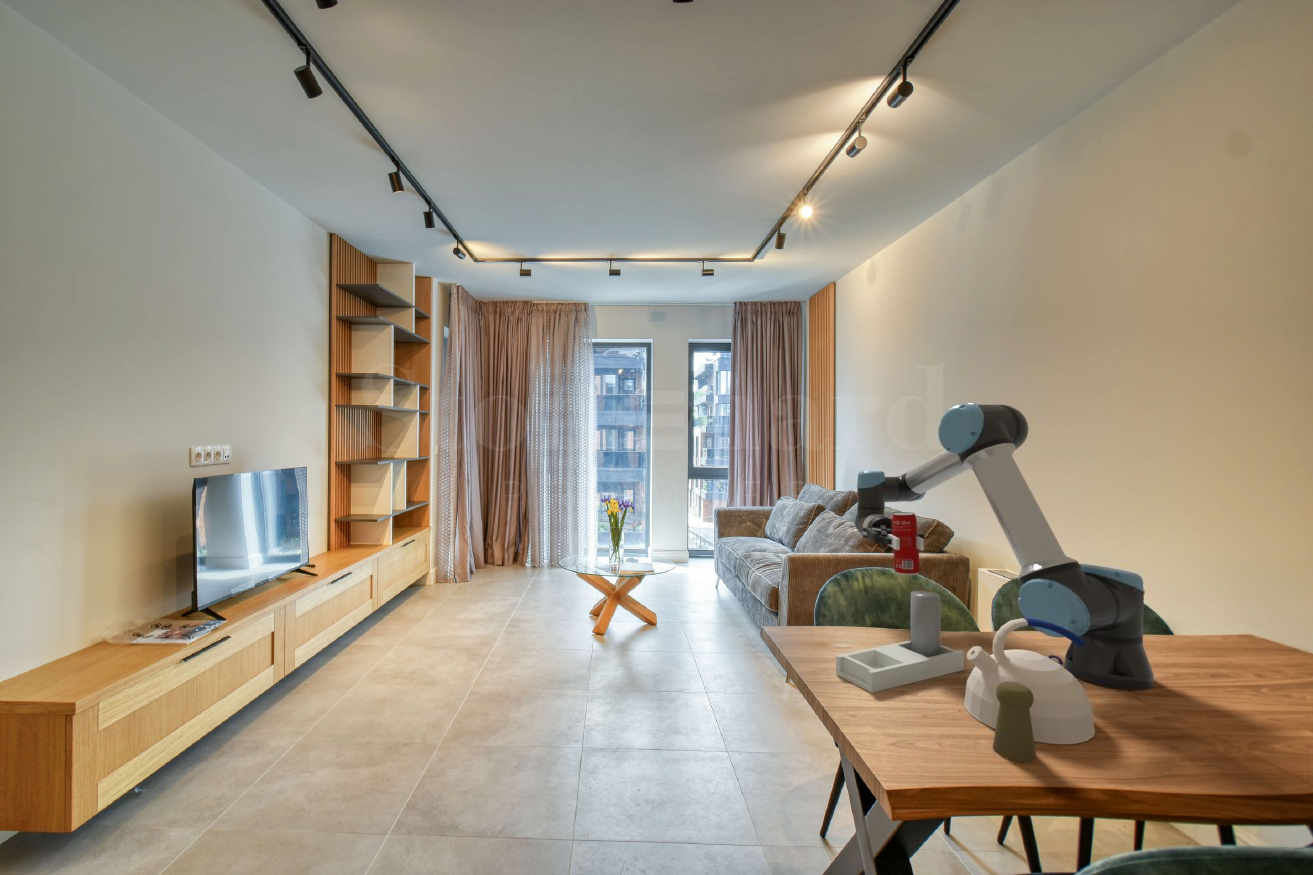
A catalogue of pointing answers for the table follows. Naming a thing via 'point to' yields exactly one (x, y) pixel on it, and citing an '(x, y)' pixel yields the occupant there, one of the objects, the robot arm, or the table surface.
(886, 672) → the can rail
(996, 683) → the kettle
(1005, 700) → the cork
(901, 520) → the beverage can
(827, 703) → the table surface
